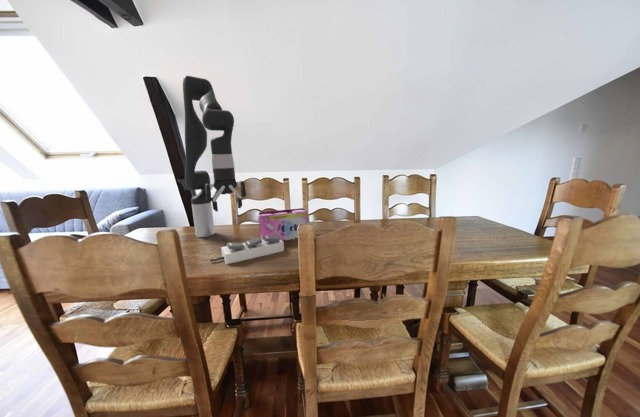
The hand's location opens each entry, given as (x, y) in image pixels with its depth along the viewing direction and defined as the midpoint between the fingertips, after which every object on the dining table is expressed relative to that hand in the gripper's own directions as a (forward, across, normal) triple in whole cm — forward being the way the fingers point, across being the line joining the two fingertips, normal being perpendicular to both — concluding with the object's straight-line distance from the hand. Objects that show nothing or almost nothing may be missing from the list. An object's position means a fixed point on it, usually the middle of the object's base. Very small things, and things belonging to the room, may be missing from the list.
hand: (228, 209), depth 97 cm
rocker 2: (+16, -9, 0) cm, 18 cm away
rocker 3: (+16, -16, 0) cm, 23 cm away
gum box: (+21, -28, -12) cm, 37 cm away
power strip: (+21, -6, -2) cm, 22 cm away
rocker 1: (+16, -1, 0) cm, 16 cm away
